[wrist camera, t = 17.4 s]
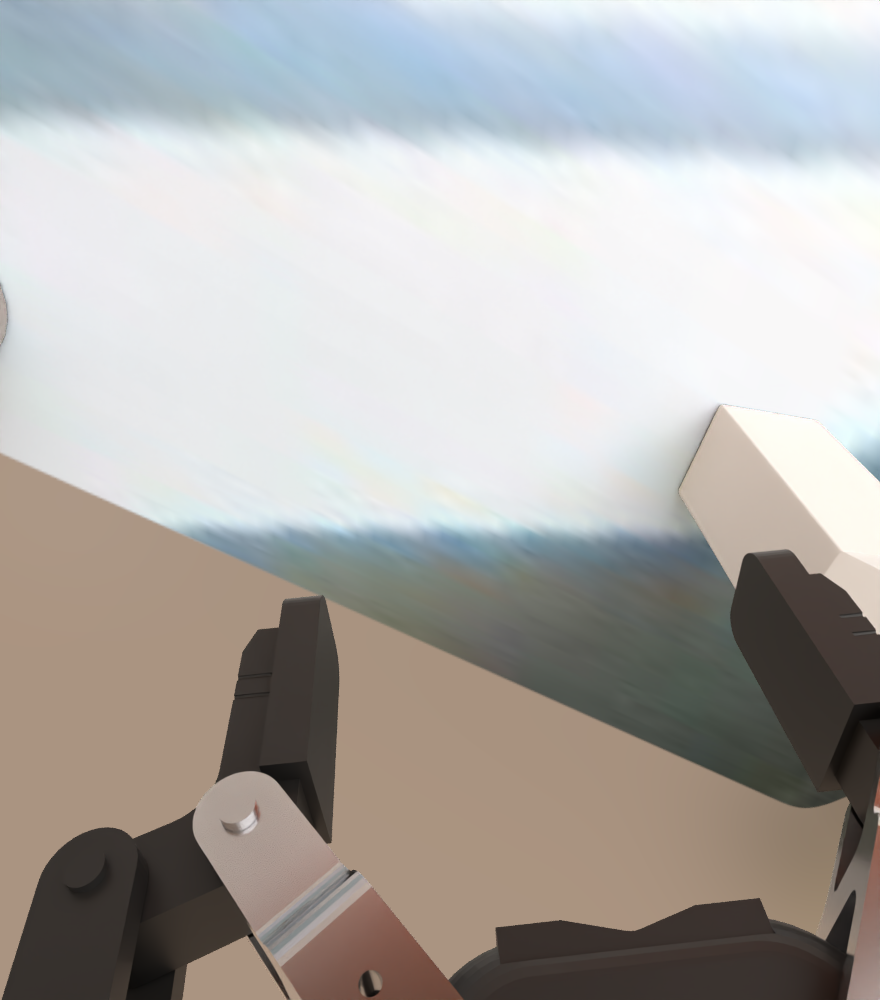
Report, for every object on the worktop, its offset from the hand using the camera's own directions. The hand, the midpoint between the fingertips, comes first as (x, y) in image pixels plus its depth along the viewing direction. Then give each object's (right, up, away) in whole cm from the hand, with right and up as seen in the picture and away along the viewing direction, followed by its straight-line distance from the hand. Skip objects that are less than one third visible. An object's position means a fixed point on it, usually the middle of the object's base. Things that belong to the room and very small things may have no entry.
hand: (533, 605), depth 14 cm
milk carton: (+19, +5, +35) cm, 41 cm away
